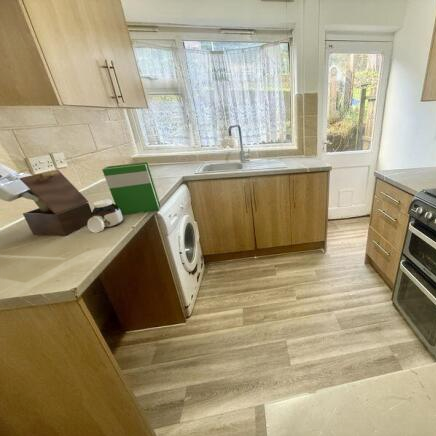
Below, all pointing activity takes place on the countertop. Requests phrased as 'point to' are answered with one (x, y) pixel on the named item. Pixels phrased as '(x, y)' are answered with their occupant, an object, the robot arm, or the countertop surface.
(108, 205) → the spread jar
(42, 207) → the fennel bulb
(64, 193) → the chest lid
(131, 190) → the hardback book
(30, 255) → the countertop surface
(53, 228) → the chest
